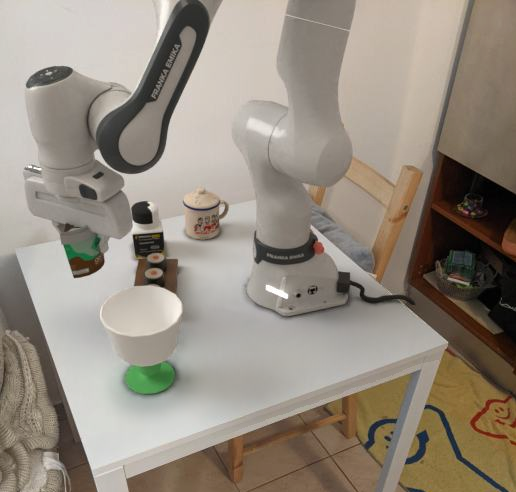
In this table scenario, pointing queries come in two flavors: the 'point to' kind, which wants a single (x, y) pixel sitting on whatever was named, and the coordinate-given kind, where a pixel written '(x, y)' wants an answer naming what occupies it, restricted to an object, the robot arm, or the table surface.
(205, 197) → the teacup with lid
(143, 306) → the cup
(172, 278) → the sushi board
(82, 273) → the food container
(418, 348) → the table surface
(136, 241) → the medicine bottle
